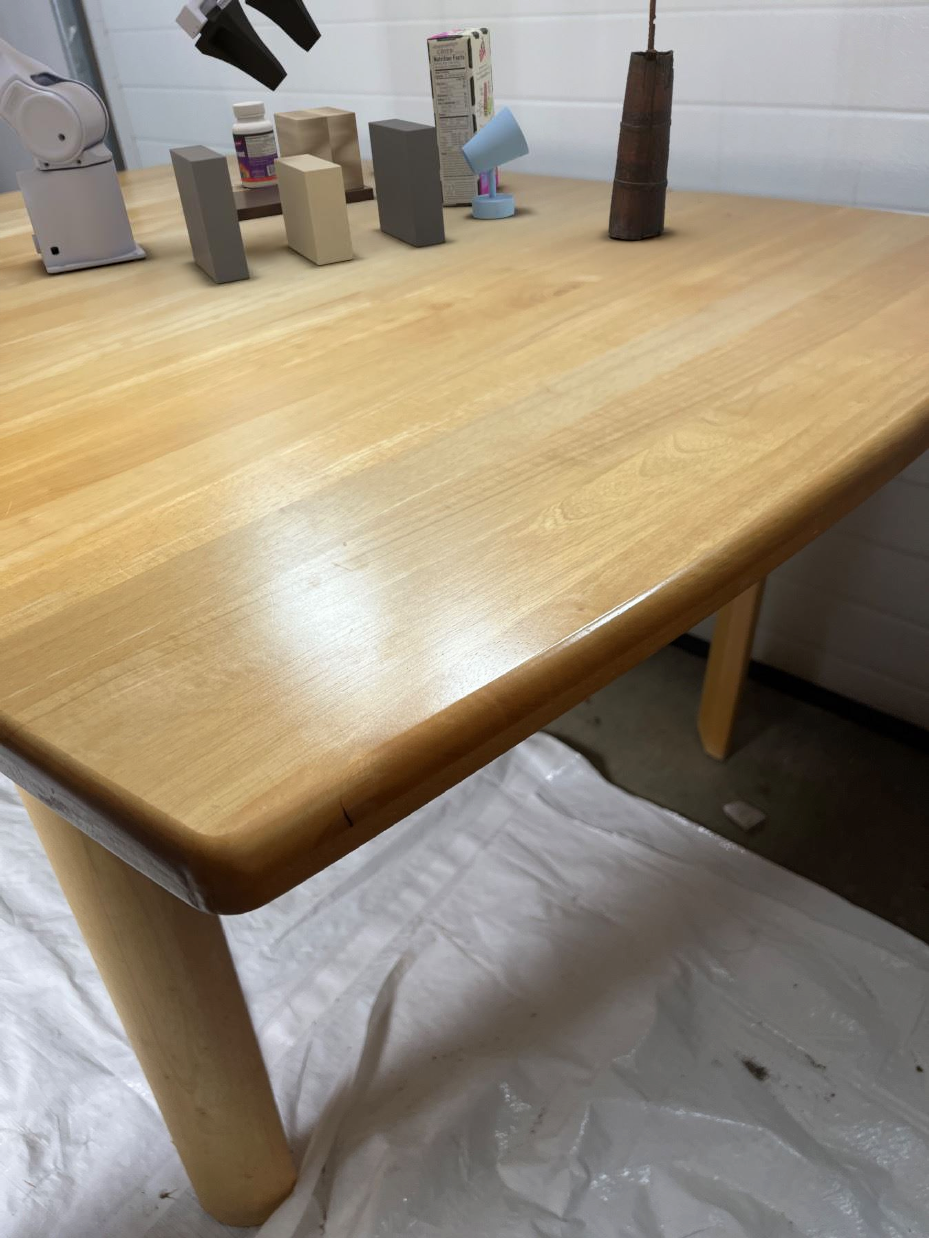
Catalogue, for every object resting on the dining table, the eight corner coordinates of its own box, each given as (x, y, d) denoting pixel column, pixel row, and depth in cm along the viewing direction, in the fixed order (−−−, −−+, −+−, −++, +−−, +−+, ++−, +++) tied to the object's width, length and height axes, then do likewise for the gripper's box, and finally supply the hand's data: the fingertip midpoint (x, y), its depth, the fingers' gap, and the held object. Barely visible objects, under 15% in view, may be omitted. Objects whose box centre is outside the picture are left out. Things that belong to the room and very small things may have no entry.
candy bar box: (459, 188, 113) (448, 29, 104) (499, 186, 112) (491, 26, 103) (438, 207, 104) (424, 36, 95) (482, 206, 103) (472, 32, 94)
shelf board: (210, 225, 105) (190, 135, 100) (189, 209, 114) (170, 125, 109) (374, 198, 111) (364, 112, 106) (341, 185, 120) (331, 105, 115)
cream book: (318, 265, 86) (303, 171, 81) (288, 246, 93) (273, 159, 89) (353, 259, 87) (341, 165, 82) (321, 240, 94) (308, 154, 90)
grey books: (217, 284, 83) (190, 161, 77) (194, 262, 90) (168, 149, 85) (445, 242, 90) (436, 127, 84) (406, 225, 97) (396, 118, 92)
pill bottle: (240, 184, 127) (225, 103, 122) (279, 179, 128) (265, 99, 123) (244, 190, 123) (228, 107, 117) (285, 185, 124) (271, 102, 118)
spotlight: (523, 206, 101) (461, 213, 101) (520, 102, 96) (454, 109, 95) (534, 214, 97) (470, 222, 97) (532, 107, 92) (463, 114, 91)
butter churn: (673, 251, 81) (696, -165, 65) (571, 246, 85) (569, -147, 69) (702, 227, 87) (729, -157, 71) (606, 224, 91) (612, -141, 75)
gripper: (155, -70, 74) (287, 74, 80) (237, -137, 81) (352, -1, 87) (121, -8, 79) (247, 122, 85) (202, -76, 86) (312, 48, 92)
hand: (298, 63), depth 86 cm, fingers open, 7 cm apart
